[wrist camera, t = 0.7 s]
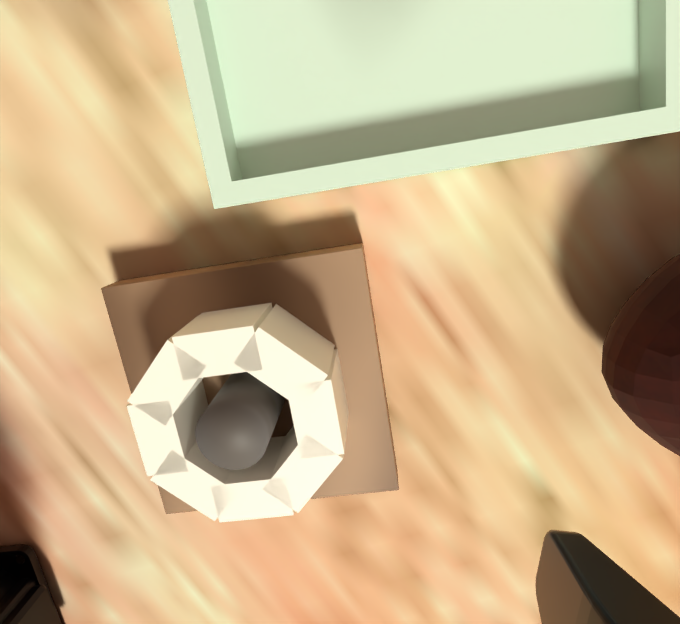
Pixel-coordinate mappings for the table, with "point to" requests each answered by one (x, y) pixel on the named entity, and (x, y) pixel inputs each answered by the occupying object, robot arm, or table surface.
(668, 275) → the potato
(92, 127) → the table surface
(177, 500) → the stake board
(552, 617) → the robot arm
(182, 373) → the ring
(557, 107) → the tray
